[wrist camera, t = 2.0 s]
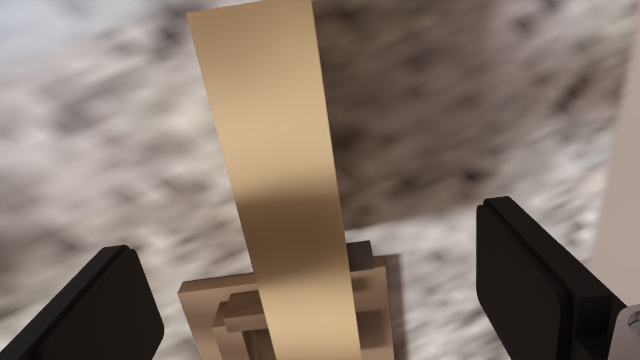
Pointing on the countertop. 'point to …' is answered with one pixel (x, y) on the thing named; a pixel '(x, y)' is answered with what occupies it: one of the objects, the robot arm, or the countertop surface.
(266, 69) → the door panel
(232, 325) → the cabinet base
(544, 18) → the countertop surface
